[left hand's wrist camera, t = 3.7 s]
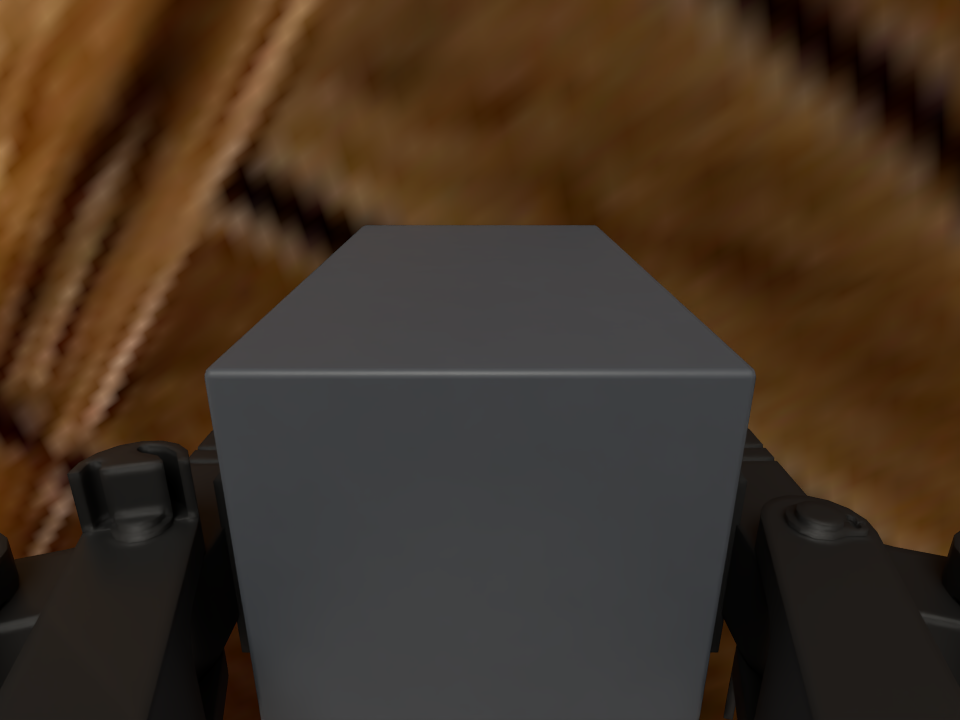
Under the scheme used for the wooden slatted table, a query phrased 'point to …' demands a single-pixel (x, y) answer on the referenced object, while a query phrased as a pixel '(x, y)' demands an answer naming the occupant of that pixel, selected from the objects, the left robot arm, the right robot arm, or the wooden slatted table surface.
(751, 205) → the wooden slatted table surface
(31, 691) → the left robot arm
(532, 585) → the bar
